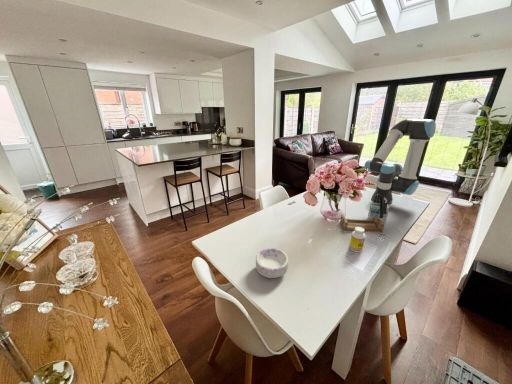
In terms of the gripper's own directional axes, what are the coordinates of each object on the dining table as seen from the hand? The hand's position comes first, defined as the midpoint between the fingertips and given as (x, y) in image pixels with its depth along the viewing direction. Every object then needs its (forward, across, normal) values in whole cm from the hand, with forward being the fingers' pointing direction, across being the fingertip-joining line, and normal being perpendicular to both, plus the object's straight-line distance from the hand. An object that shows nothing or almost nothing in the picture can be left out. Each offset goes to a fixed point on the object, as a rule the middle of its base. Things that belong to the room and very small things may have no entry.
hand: (376, 218), depth 144 cm
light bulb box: (+1, 0, 0) cm, 1 cm away
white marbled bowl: (0, +57, -69) cm, 90 cm away
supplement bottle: (+1, +35, -24) cm, 43 cm away
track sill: (+1, +11, -14) cm, 18 cm away
